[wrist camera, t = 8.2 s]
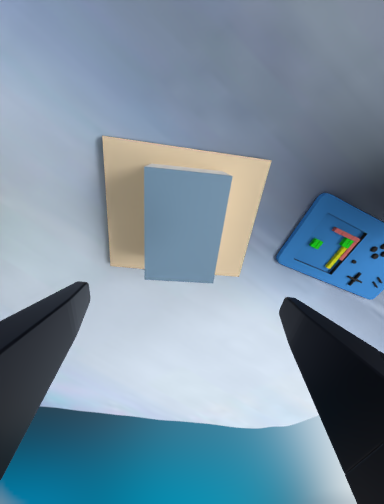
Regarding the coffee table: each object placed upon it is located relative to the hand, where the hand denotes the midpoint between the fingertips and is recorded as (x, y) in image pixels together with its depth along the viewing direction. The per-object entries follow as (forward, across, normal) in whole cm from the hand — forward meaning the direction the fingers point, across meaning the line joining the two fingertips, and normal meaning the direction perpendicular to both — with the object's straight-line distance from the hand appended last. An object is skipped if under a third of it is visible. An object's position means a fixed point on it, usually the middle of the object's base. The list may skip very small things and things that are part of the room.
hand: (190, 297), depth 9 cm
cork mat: (+12, 0, 0) cm, 12 cm away
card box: (+11, 0, 0) cm, 11 cm away
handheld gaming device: (+12, -19, +2) cm, 23 cm away
